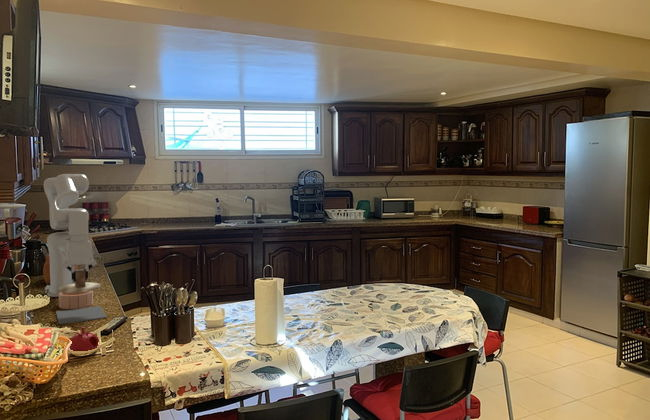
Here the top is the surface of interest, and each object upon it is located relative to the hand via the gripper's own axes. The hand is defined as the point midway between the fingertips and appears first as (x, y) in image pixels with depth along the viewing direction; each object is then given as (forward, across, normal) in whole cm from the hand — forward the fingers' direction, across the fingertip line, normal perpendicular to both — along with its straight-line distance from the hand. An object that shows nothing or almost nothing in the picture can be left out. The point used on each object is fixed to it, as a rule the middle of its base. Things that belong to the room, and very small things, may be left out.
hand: (80, 280), depth 211 cm
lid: (+4, 0, 0) cm, 4 cm away
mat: (+16, 0, 0) cm, 16 cm away
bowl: (+15, 0, +20) cm, 25 cm away
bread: (+15, -2, +84) cm, 85 cm away
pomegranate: (+16, -4, -50) cm, 53 cm away
